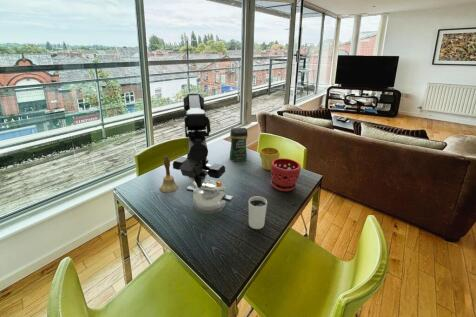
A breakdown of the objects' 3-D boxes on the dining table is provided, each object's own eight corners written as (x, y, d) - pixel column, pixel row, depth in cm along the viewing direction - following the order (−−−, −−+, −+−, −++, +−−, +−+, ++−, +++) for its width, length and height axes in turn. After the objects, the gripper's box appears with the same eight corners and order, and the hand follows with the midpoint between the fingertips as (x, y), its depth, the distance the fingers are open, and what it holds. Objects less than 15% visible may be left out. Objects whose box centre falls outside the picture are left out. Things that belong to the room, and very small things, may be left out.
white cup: (245, 227, 93) (246, 204, 89) (250, 216, 99) (252, 194, 95) (262, 231, 91) (264, 208, 87) (267, 220, 97) (269, 198, 92)
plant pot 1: (277, 172, 132) (279, 155, 128) (257, 170, 134) (258, 153, 130) (278, 164, 141) (280, 148, 137) (260, 162, 143) (261, 146, 139)
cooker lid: (186, 185, 98) (187, 179, 98) (202, 180, 111) (203, 174, 110) (216, 192, 94) (217, 186, 94) (230, 186, 106) (231, 180, 106)
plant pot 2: (292, 196, 112) (295, 172, 107) (265, 188, 118) (267, 165, 113) (301, 183, 122) (304, 161, 117) (275, 176, 128) (277, 155, 123)
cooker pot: (180, 206, 104) (179, 194, 101) (197, 190, 115) (196, 178, 113) (224, 219, 97) (224, 206, 94) (238, 200, 108) (238, 188, 106)
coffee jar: (231, 162, 142) (231, 131, 134) (228, 156, 149) (228, 126, 141) (248, 161, 144) (249, 130, 136) (244, 155, 151) (245, 125, 143)
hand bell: (182, 185, 119) (179, 154, 112) (170, 194, 112) (167, 161, 105) (168, 181, 122) (164, 150, 115) (156, 189, 115) (151, 157, 108)
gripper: (160, 152, 85) (165, 192, 91) (210, 162, 78) (211, 204, 85) (180, 141, 94) (183, 178, 100) (225, 149, 88) (225, 188, 94)
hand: (199, 187), depth 95 cm, fingers closed
